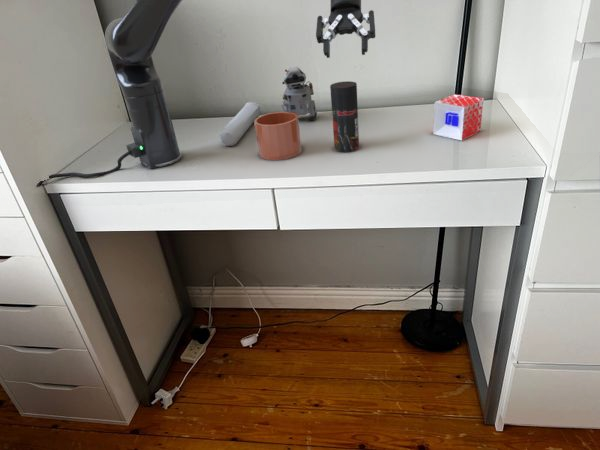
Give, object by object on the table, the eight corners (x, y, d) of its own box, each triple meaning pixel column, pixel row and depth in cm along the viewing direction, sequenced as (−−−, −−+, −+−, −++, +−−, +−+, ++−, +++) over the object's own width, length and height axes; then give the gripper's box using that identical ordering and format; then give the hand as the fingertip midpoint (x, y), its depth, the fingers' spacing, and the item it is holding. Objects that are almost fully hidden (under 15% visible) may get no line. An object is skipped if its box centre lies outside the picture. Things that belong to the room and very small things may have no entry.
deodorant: (358, 152, 105) (355, 87, 97) (332, 152, 106) (328, 88, 99) (360, 143, 110) (357, 80, 102) (336, 143, 111) (332, 82, 104)
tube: (238, 133, 114) (262, 104, 135) (218, 127, 114) (245, 99, 135) (235, 151, 117) (259, 120, 138) (215, 146, 117) (242, 116, 138)
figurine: (279, 128, 126) (272, 74, 119) (289, 116, 136) (283, 65, 128) (310, 127, 124) (305, 72, 116) (318, 115, 134) (314, 63, 126)
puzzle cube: (480, 130, 108) (483, 98, 104) (461, 140, 104) (464, 106, 100) (451, 125, 114) (453, 94, 110) (432, 134, 110) (434, 102, 106)
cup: (277, 163, 104) (273, 128, 100) (251, 154, 111) (245, 121, 107) (310, 149, 109) (307, 115, 105) (282, 141, 117) (278, 109, 112)
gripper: (315, -12, 108) (313, 48, 105) (374, -19, 106) (375, 42, 102) (319, 8, 116) (318, 65, 112) (375, 2, 113) (375, 60, 110)
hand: (345, 54), depth 107 cm, fingers open, 8 cm apart
